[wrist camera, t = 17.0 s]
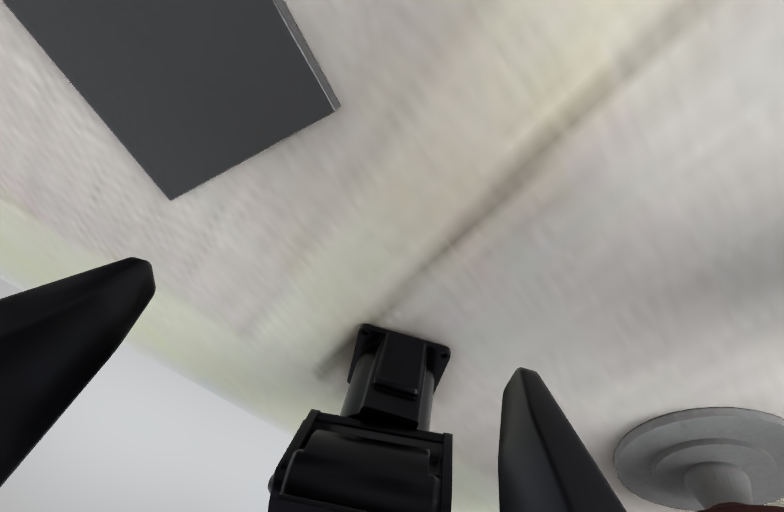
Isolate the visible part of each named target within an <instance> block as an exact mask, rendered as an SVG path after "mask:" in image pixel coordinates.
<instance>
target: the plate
mask: <svg viewBox="0 0 784 512" xmlns="http://www.w3.org/2000/svg"><path fill="white" fill-rule="evenodd" d="M3 2H4V3H5V4H6V5H7V7H8V8H9V9H10V10H11V11H12V13H13V14H14V15H15V16H16V17H17V19H18V20H19V21H20V22H21V23H22V25H23V26H24V27H25V28H26V29H27V30H28V32H29V33H30V34H31V35H32V36H33V38H34V39H35V40H36V41H37V42H38V44H39V45H40V46H41V47H42V48H43V50H44V51H45V52H46V53H47V54H48V56H49V57H50V58H51V59H52V60H53V62H54V63H55V64H56V65H57V66H58V68H59V69H60V70H61V71H62V72H63V73H64V75H65V76H66V77H67V78H68V79H69V81H70V82H71V83H72V84H73V85H74V87H75V88H76V89H77V90H78V91H79V93H80V94H81V95H82V96H83V97H84V99H85V100H86V101H87V102H88V103H89V105H90V106H91V107H92V108H93V109H94V110H95V112H96V113H97V114H98V115H99V116H100V118H101V119H102V120H103V121H104V122H105V124H106V125H107V126H108V127H109V128H110V130H111V131H112V132H113V133H114V134H115V136H116V137H117V138H118V139H119V140H120V142H121V143H122V144H123V145H124V146H125V148H126V149H127V150H128V151H129V152H130V153H131V155H132V156H133V157H134V158H135V159H136V161H137V162H138V163H139V164H140V165H141V167H142V168H143V169H144V170H145V171H146V173H147V174H148V175H149V176H150V177H151V179H152V180H153V181H154V182H155V183H156V185H157V186H158V187H159V188H160V189H161V190H162V192H163V193H164V194H165V195H166V196H167V198H168V199H169V200H173V199H175V198H177V197H179V196H181V195H183V194H184V193H186V192H188V191H190V190H192V189H194V188H195V187H197V186H199V185H201V184H203V183H205V182H206V181H208V180H210V179H212V178H214V177H216V176H218V175H219V174H221V173H223V172H225V171H227V170H229V169H230V168H232V167H234V166H236V165H238V164H240V163H241V162H243V161H245V160H247V159H249V158H251V157H252V156H254V155H256V154H258V153H260V152H262V151H264V150H265V149H267V148H269V147H271V146H273V145H275V144H276V143H278V142H280V141H282V140H284V139H286V138H287V137H289V136H291V135H293V134H295V133H297V132H298V131H300V130H302V129H304V128H306V127H308V126H309V125H311V124H313V123H315V122H317V121H319V120H321V119H322V118H324V117H326V116H328V115H330V114H332V113H333V112H335V111H336V110H337V109H339V108H340V106H341V105H340V103H339V101H338V100H337V98H336V96H335V94H334V92H333V90H332V89H331V87H330V85H329V83H328V81H327V80H326V78H325V76H324V74H323V72H322V70H321V69H320V67H319V65H318V63H317V61H316V60H315V58H314V56H313V54H312V52H311V50H310V49H309V47H308V45H307V43H306V41H305V39H304V38H303V36H302V34H301V32H300V30H299V29H298V27H297V25H296V23H295V21H294V19H293V18H292V16H291V14H290V12H289V10H288V8H287V7H286V5H285V3H284V1H283V0H3Z"/></svg>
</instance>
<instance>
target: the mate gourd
mask: <svg viewBox="0 0 784 512" xmlns="http://www.w3.org/2000/svg"><path fill="white" fill-rule="evenodd" d="M613 461H614V465H615V469H616V472H617V476H618V478H619V479H620V481H621V482H622V484H623V485H624V486H625V487H626V488H627V489H629V490H630V491H631V492H632V493H634V494H636V495H637V496H639V497H641V498H643V499H645V500H648V501H650V502H653V503H655V504H659V505H663V506H667V507H671V508H677V509H683V510H693V511H697V512H784V507H779V506H765V505H763V504H767V503H770V502H774V501H776V500H779V499H781V498H784V419H782V418H780V417H777V416H775V415H772V414H768V413H764V412H759V411H755V410H748V409H740V408H702V409H692V410H686V411H681V412H676V413H671V414H668V415H665V416H662V417H659V418H656V419H653V420H651V421H649V422H646V423H644V424H642V425H640V426H638V427H637V428H635V429H634V430H632V431H631V432H630V433H628V434H627V435H626V436H625V437H624V438H623V439H622V440H621V441H620V442H619V444H618V446H617V448H616V450H615V452H614V459H613Z"/></svg>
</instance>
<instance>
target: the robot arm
mask: <svg viewBox="0 0 784 512" xmlns="http://www.w3.org/2000/svg"><path fill="white" fill-rule="evenodd" d="M155 288H156V286H155V281H154V275H153V270H152V266H151V264H150V263H149V262H148V261H146V260H142V259H139V258H135V257H130V258H126V259H123V260H120V261H117V262H114V263H111V264H107V265H104V266H101V267H98V268H95V269H92V270H89V271H86V272H83V273H80V274H76V275H73V276H70V277H67V278H64V279H61V280H58V281H55V282H52V283H48V284H45V285H42V286H39V287H36V288H33V289H30V290H27V291H24V292H20V293H18V294H14V295H11V296H8V297H5V298H2V299H0V487H1V486H2V485H3V483H4V482H5V481H6V480H7V478H8V477H9V476H10V475H11V474H12V473H13V472H14V470H15V469H16V468H17V467H18V466H19V465H20V463H21V462H22V461H23V460H24V459H25V457H26V456H27V455H28V454H29V453H30V451H31V450H32V449H33V448H34V447H35V446H36V444H37V443H38V442H39V440H41V438H42V437H43V436H44V435H45V434H46V433H47V431H48V430H49V429H50V428H51V427H52V426H53V424H54V423H55V422H56V421H57V420H58V418H59V417H60V416H61V415H62V414H63V413H64V411H65V410H66V409H67V408H68V407H69V405H70V404H71V403H72V402H73V400H74V399H75V398H76V397H77V396H78V395H79V393H80V392H81V391H82V390H83V389H84V388H85V387H86V385H87V384H88V383H89V382H90V381H91V379H92V378H93V377H94V376H95V375H96V374H97V372H98V371H99V370H100V369H101V367H102V366H103V365H104V364H105V363H106V362H107V361H108V359H109V358H110V357H111V356H112V354H113V353H114V352H115V351H116V349H117V348H118V347H119V345H120V344H121V343H122V341H123V340H124V338H125V337H126V336H127V334H128V333H129V331H130V330H131V328H132V327H133V325H134V324H135V322H136V321H137V319H138V318H139V316H140V315H141V314H142V312H143V311H144V309H145V308H146V306H147V305H148V303H149V302H150V300H151V299H152V297H153V295H154V293H155ZM365 331H367V332H365ZM442 353H445V354H442ZM450 354H451V351H450V349H449V348H448V347H446V346H442V345H439V344H435V343H432V342H428V341H425V340H421V339H418V338H414V337H411V336H407V335H403V334H400V333H396V332H393V331H389V330H386V329H382V328H379V327H375V326H372V325H368V324H363V325H361V327H360V329H359V332H358V337H357V341H356V345H355V350H354V354H353V358H352V362H351V367H350V371H349V375H348V380H347V382H348V383H349V384H350V385H349V388H348V391H347V395H346V398H345V401H344V404H343V407H342V410H341V413H340V416H339V415H333V414H328V413H322V412H321V411H320V410H314V409H311V411H310V413H309V414H308V416H307V418H306V419H305V420H304V421H303V422H302V424H301V426H300V428H299V429H298V431H297V433H296V435H295V436H294V438H293V440H292V442H291V443H290V445H289V447H288V448H287V450H286V452H285V454H284V455H283V457H282V459H281V460H280V462H279V464H278V466H277V467H276V470H275V473H274V474H273V475H272V476H271V478H270V480H269V484H268V490H269V492H270V494H271V495H270V500H269V507H268V512H451V501H452V440H453V434H449V433H443V434H440V433H435V432H429V426H430V417H431V408H432V399H433V394H434V392H435V390H436V387H437V385H438V383H439V381H440V379H441V376H442V374H443V372H444V370H445V368H446V365H447V363H448V361H449V359H450ZM498 477H499V504H500V512H627V511H626V510H625V508H624V507H623V505H622V504H621V502H620V500H619V499H618V497H617V496H616V494H615V493H614V491H613V490H612V488H611V486H610V485H609V483H608V482H607V480H606V479H605V477H604V476H603V474H602V472H601V471H600V469H599V468H598V466H597V465H596V463H595V462H594V460H593V458H592V457H591V455H590V454H589V452H588V451H587V449H586V447H585V446H584V444H583V443H582V441H581V440H580V438H579V437H578V435H577V433H576V432H575V430H574V429H573V427H572V426H571V424H570V423H569V421H568V419H567V418H566V416H565V415H564V413H563V412H562V410H561V409H560V407H559V405H558V404H557V402H556V401H555V399H554V398H553V396H552V395H551V393H550V391H549V390H548V388H547V387H546V385H545V384H544V382H543V381H542V379H541V377H540V376H539V374H538V373H537V372H535V371H533V370H529V369H526V368H522V367H520V368H518V369H517V370H516V371H515V372H514V374H513V376H512V377H511V379H510V381H509V382H508V384H507V385H506V387H505V389H504V392H503V399H502V412H501V425H500V439H499V453H498Z"/></svg>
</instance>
